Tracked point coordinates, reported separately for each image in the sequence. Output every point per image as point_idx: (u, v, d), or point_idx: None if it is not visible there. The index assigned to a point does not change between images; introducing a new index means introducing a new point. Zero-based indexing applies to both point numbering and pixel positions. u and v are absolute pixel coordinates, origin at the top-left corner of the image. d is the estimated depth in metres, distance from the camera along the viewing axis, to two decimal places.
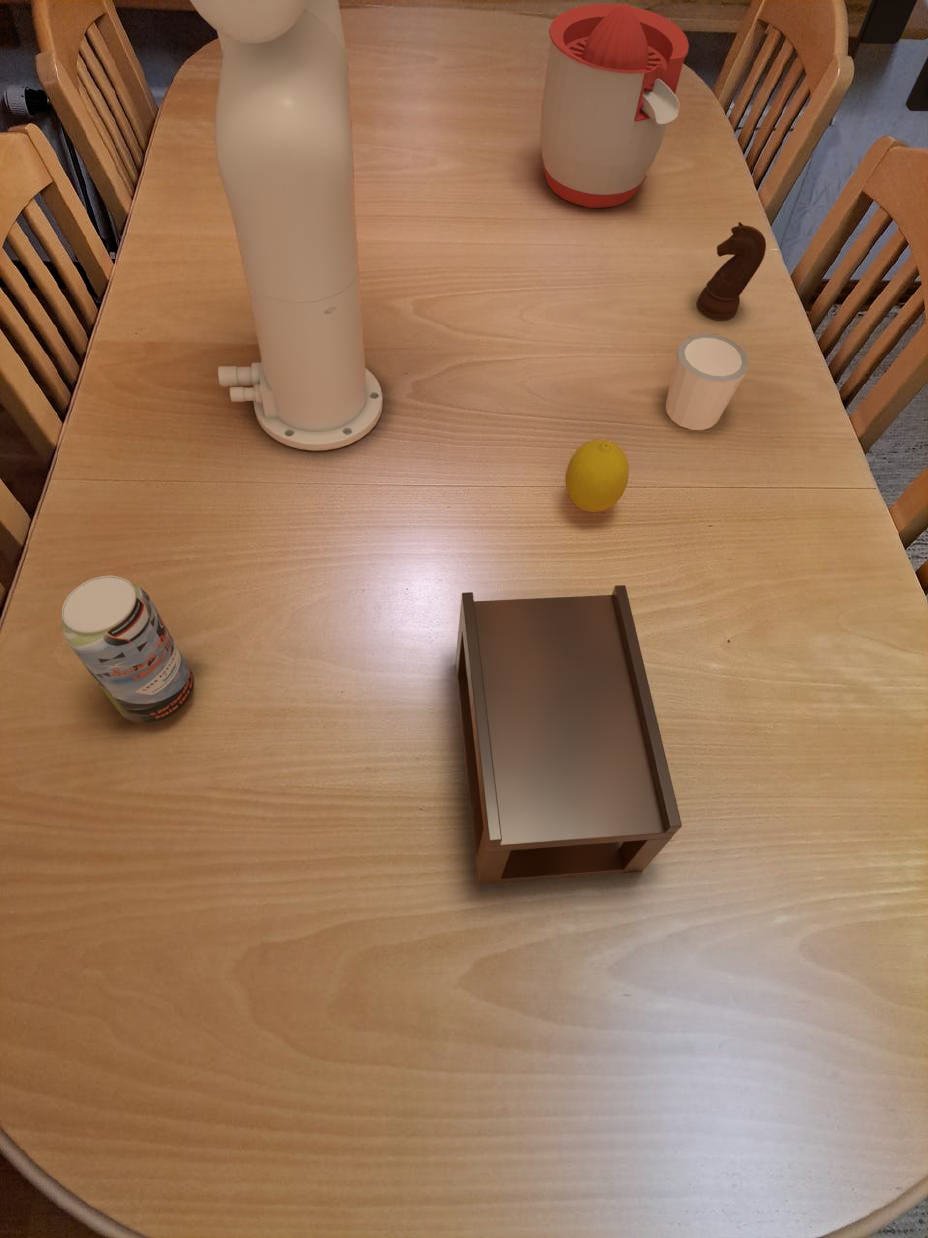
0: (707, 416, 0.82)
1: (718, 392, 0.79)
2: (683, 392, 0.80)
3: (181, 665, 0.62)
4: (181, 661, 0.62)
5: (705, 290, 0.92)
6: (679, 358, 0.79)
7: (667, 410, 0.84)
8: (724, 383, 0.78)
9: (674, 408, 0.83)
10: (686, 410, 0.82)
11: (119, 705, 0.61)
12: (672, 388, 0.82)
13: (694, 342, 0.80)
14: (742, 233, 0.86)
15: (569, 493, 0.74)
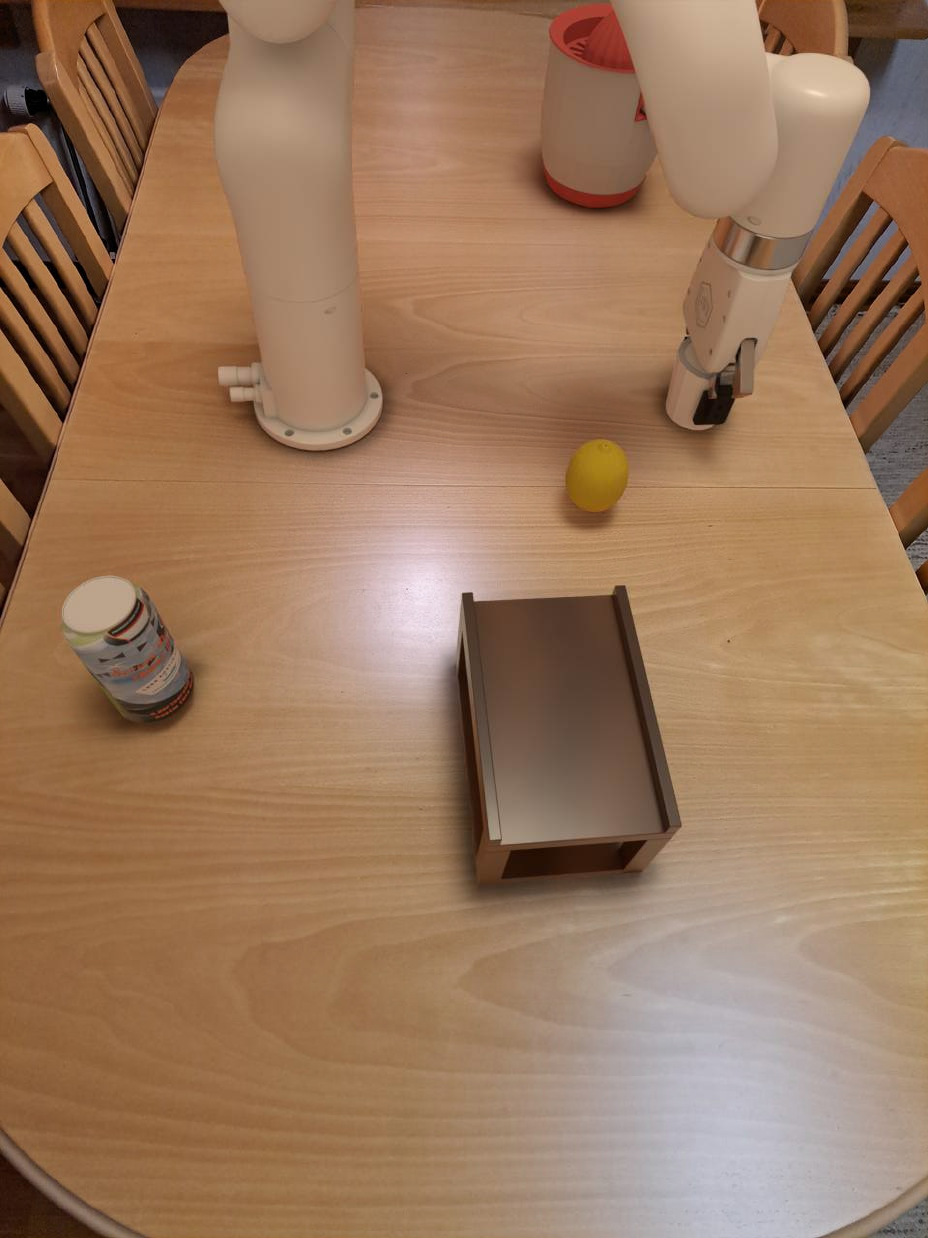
0: None
1: None
2: (683, 392, 0.80)
3: (181, 665, 0.62)
4: (181, 661, 0.62)
5: None
6: (679, 358, 0.79)
7: (667, 410, 0.84)
8: (724, 383, 0.78)
9: (674, 408, 0.83)
10: (686, 410, 0.82)
11: (119, 705, 0.61)
12: (672, 388, 0.82)
13: None
14: None
15: (569, 493, 0.74)
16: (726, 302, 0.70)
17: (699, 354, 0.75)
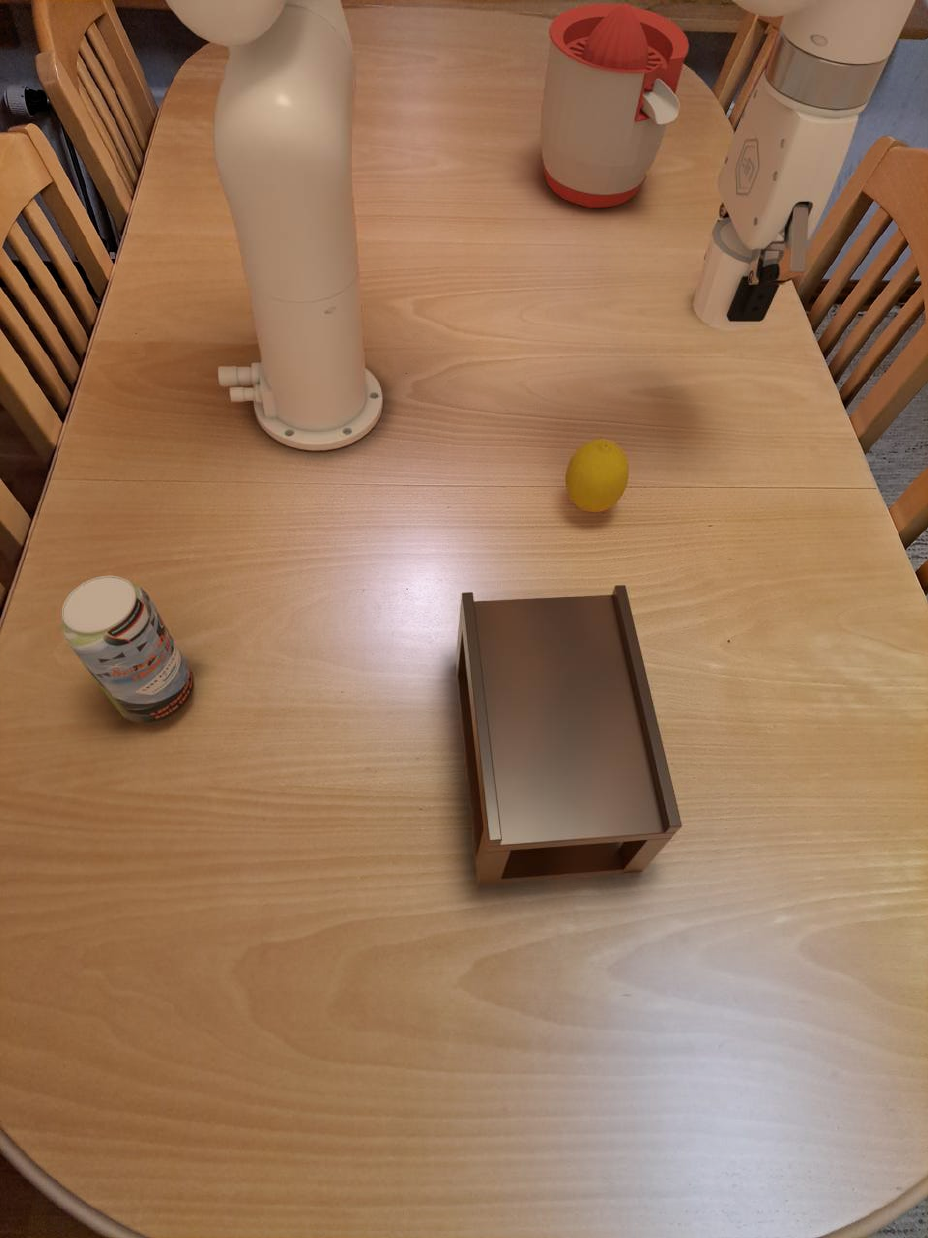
0: None
1: None
2: (717, 282, 0.69)
3: (181, 665, 0.62)
4: (181, 661, 0.62)
5: None
6: (714, 240, 0.68)
7: (695, 309, 0.73)
8: None
9: (704, 304, 0.72)
10: (720, 305, 0.70)
11: (119, 705, 0.61)
12: (703, 280, 0.71)
13: (730, 224, 0.69)
14: None
15: (569, 493, 0.74)
16: (778, 154, 0.58)
17: (740, 229, 0.64)
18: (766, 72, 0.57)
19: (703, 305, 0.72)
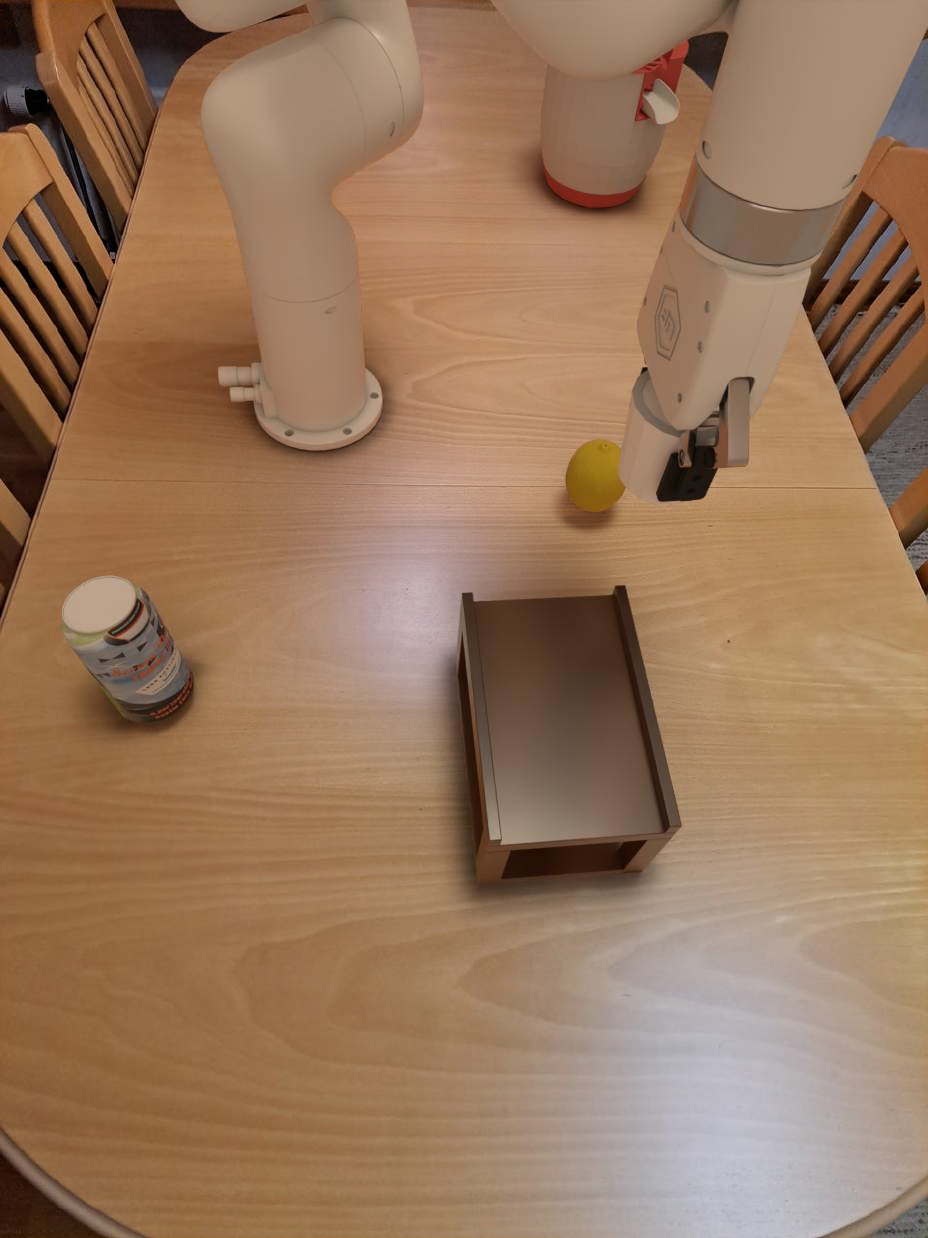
0: None
1: None
2: (642, 453, 0.53)
3: (181, 665, 0.62)
4: (181, 661, 0.62)
5: None
6: (634, 403, 0.51)
7: (620, 475, 0.57)
8: (704, 442, 0.50)
9: (630, 474, 0.55)
10: (648, 478, 0.54)
11: (119, 705, 0.61)
12: (626, 445, 0.54)
13: None
14: None
15: (569, 493, 0.74)
16: (702, 320, 0.42)
17: (662, 400, 0.48)
18: (681, 209, 0.41)
19: (628, 474, 0.56)
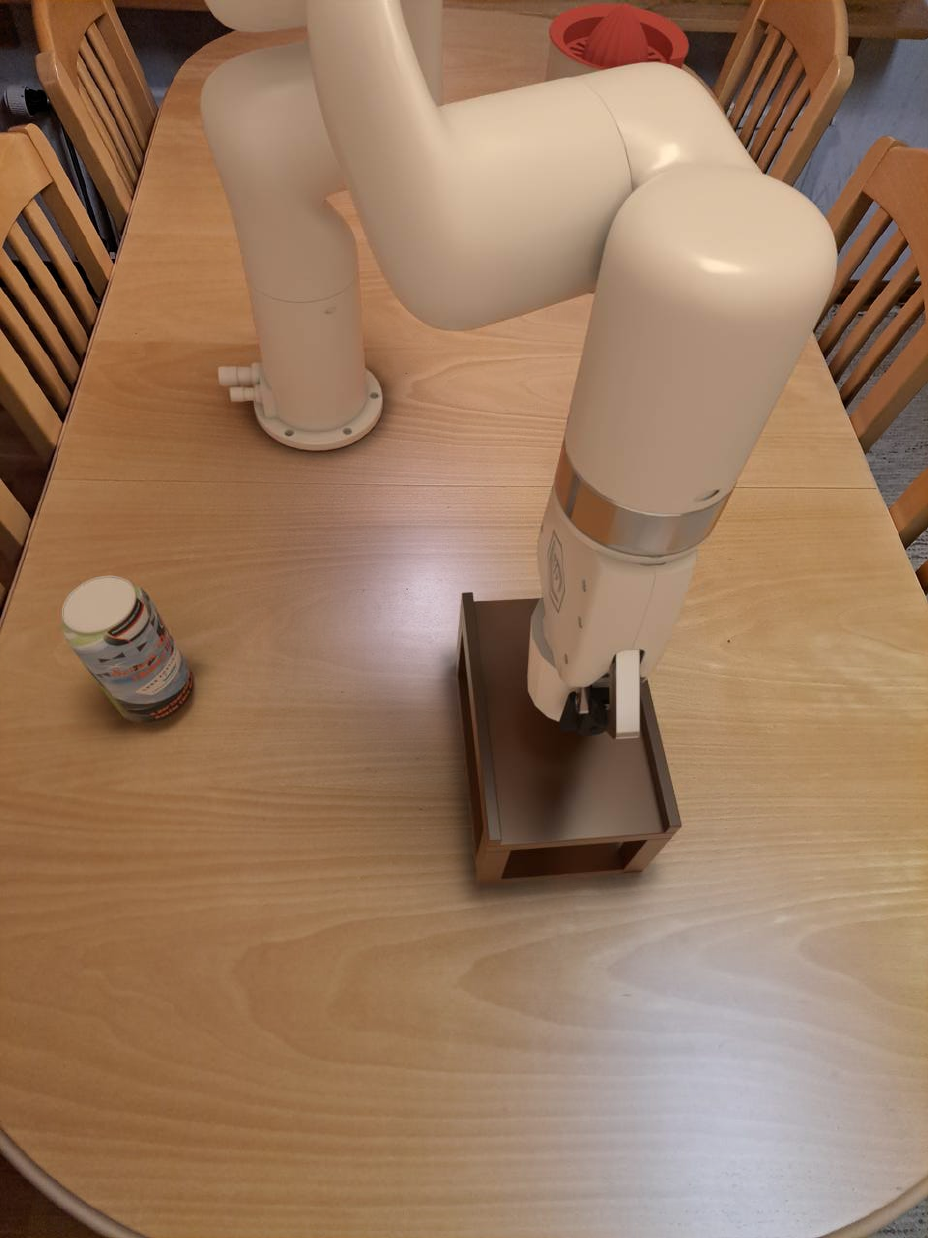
0: None
1: None
2: (543, 681, 0.48)
3: (181, 665, 0.62)
4: (181, 661, 0.62)
5: None
6: (532, 633, 0.47)
7: (528, 688, 0.52)
8: (605, 683, 0.46)
9: (535, 693, 0.51)
10: (552, 703, 0.50)
11: (119, 705, 0.61)
12: (530, 666, 0.50)
13: None
14: None
15: None
16: (581, 597, 0.38)
17: (553, 648, 0.43)
18: (555, 479, 0.37)
19: (534, 693, 0.51)
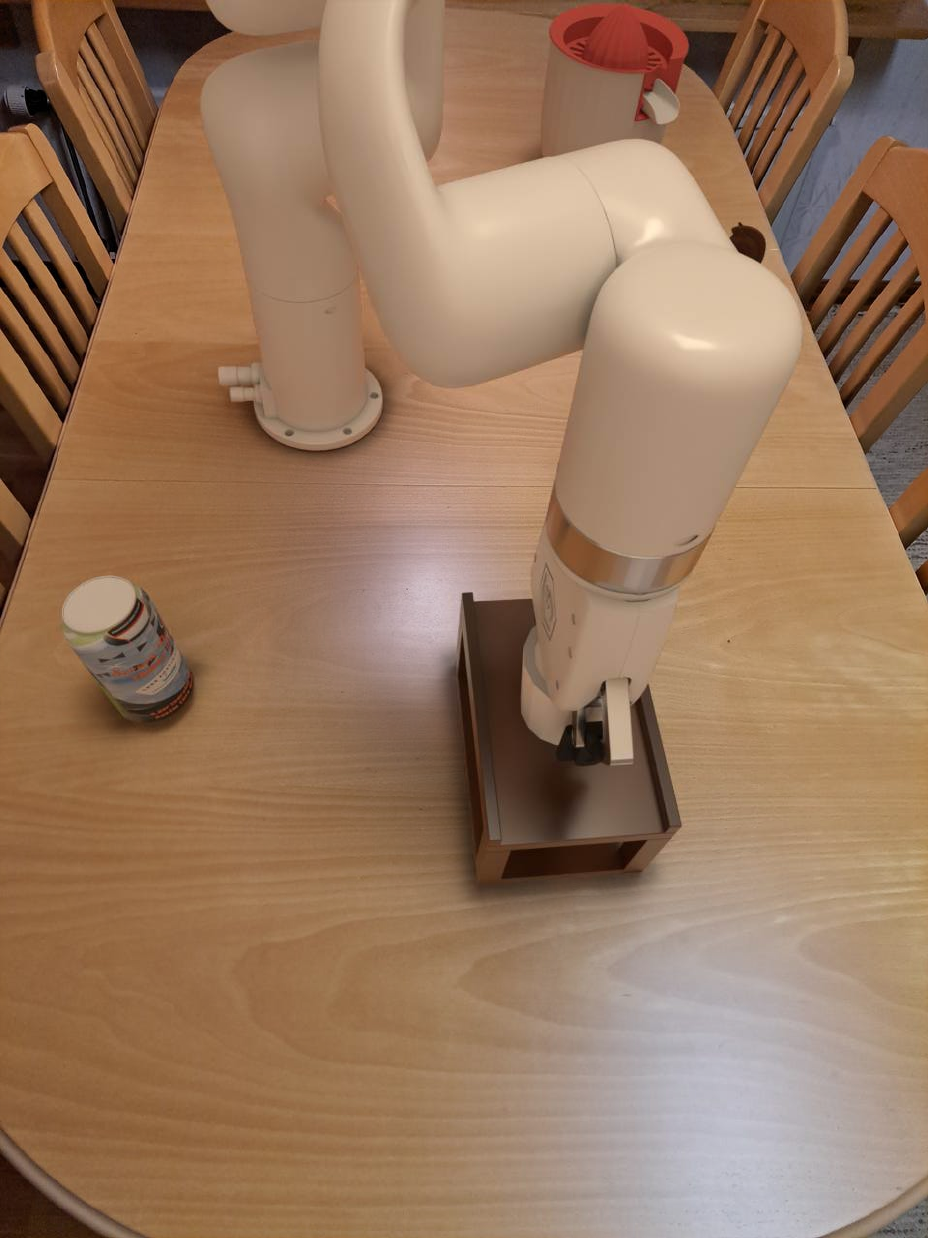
0: None
1: (586, 715, 0.50)
2: (535, 706, 0.51)
3: (181, 665, 0.62)
4: (181, 661, 0.62)
5: None
6: (524, 661, 0.50)
7: (521, 711, 0.55)
8: (592, 709, 0.49)
9: (528, 716, 0.54)
10: (544, 726, 0.53)
11: (119, 705, 0.61)
12: (522, 691, 0.53)
13: None
14: (742, 233, 0.86)
15: None
16: (571, 629, 0.40)
17: (546, 673, 0.46)
18: (546, 519, 0.39)
19: (527, 716, 0.54)
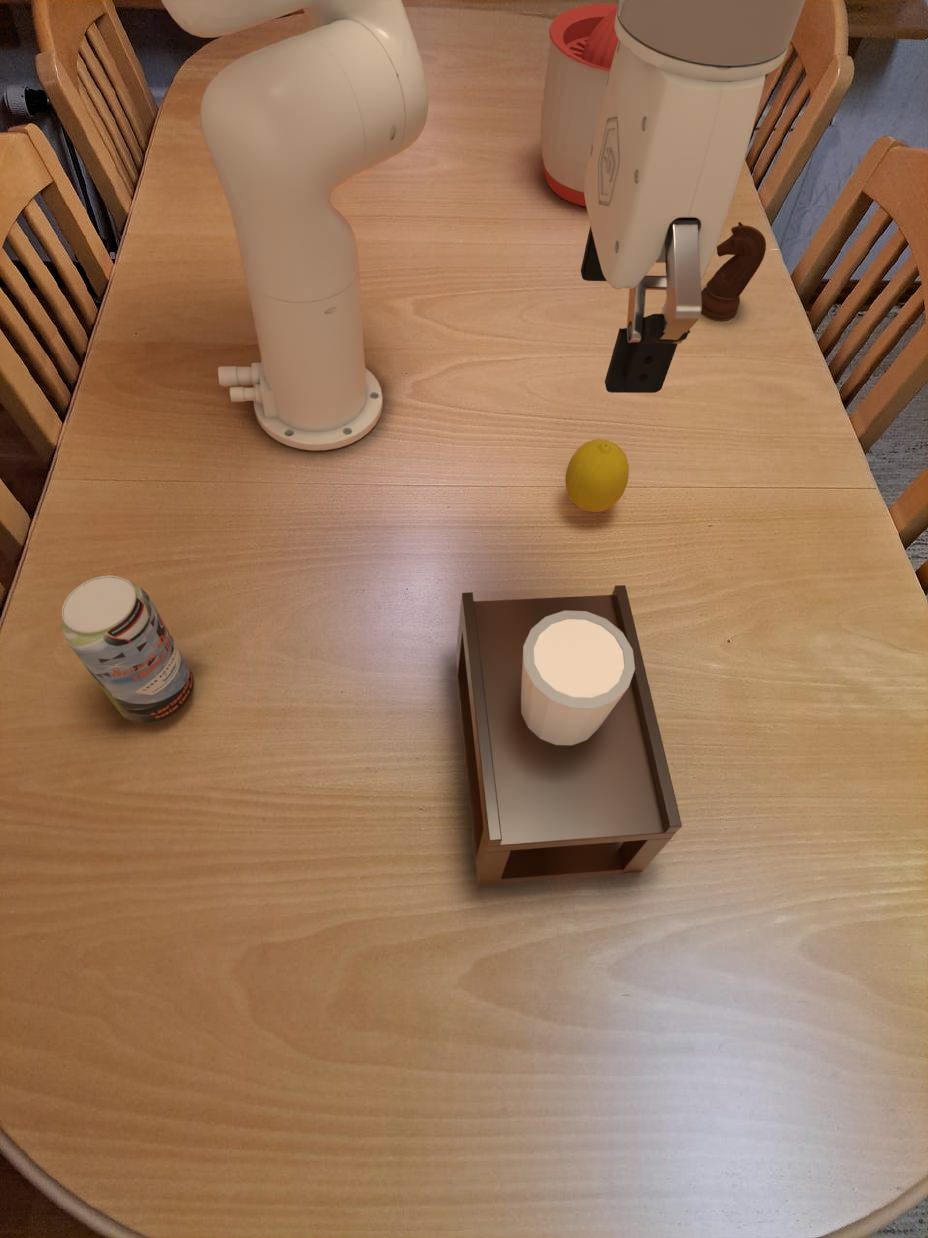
0: (576, 735, 0.53)
1: (585, 715, 0.50)
2: (535, 706, 0.51)
3: (181, 665, 0.62)
4: (181, 661, 0.62)
5: (705, 290, 0.92)
6: (524, 661, 0.50)
7: (521, 711, 0.55)
8: (592, 709, 0.49)
9: (528, 716, 0.54)
10: (544, 726, 0.53)
11: (119, 705, 0.61)
12: (522, 691, 0.53)
13: (552, 629, 0.51)
14: (742, 233, 0.86)
15: (569, 493, 0.74)
16: (639, 142, 0.36)
17: (602, 256, 0.42)
18: (618, 7, 0.35)
19: (527, 716, 0.54)
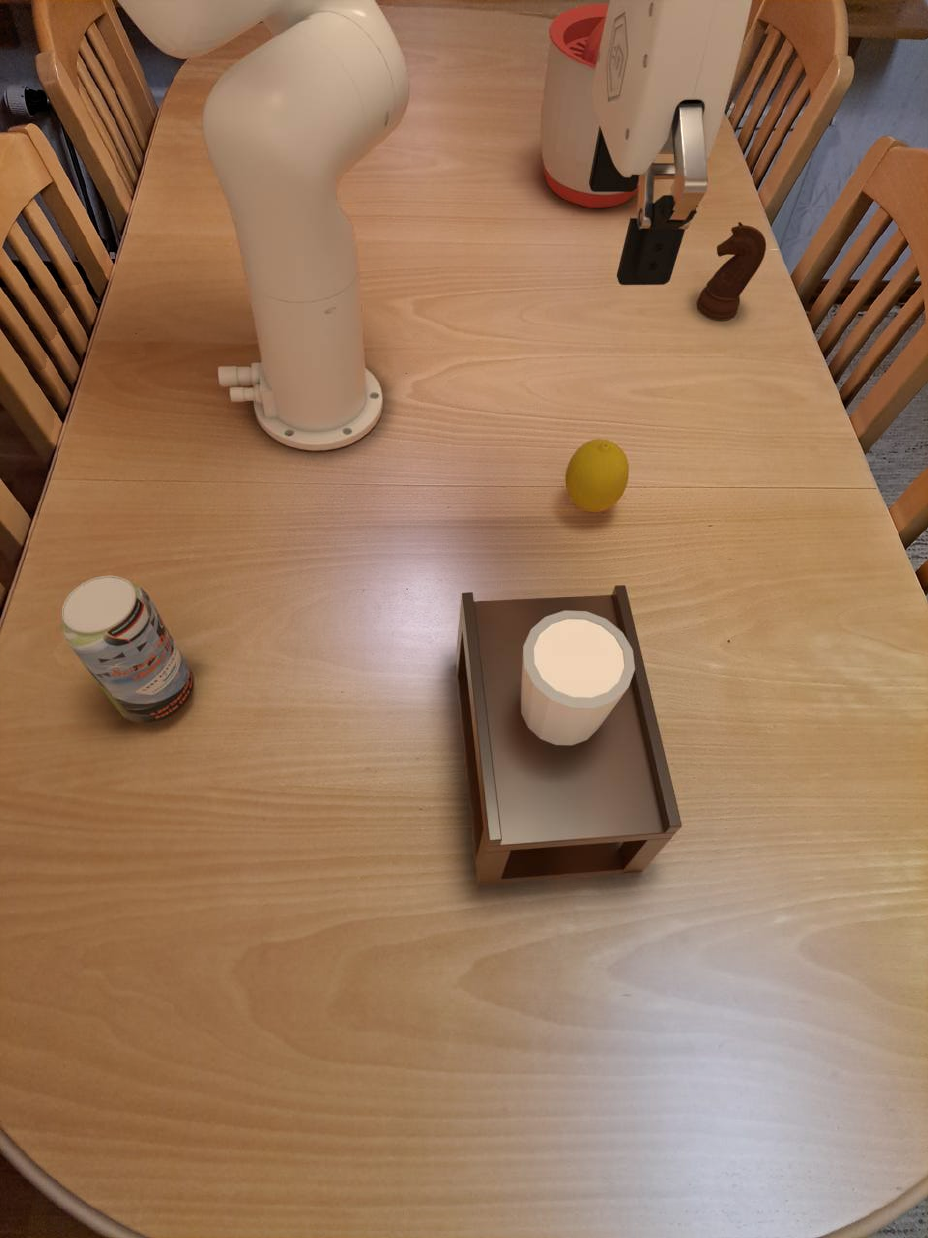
0: (576, 735, 0.53)
1: (585, 715, 0.50)
2: (535, 706, 0.51)
3: (181, 665, 0.62)
4: (181, 661, 0.62)
5: (705, 290, 0.92)
6: (524, 661, 0.50)
7: (521, 711, 0.55)
8: (592, 709, 0.49)
9: (528, 716, 0.54)
10: (544, 726, 0.53)
11: (119, 705, 0.61)
12: (522, 691, 0.53)
13: (552, 629, 0.51)
14: (742, 233, 0.86)
15: (569, 493, 0.74)
16: (647, 27, 0.40)
17: (612, 149, 0.46)
18: None
19: (527, 716, 0.54)
